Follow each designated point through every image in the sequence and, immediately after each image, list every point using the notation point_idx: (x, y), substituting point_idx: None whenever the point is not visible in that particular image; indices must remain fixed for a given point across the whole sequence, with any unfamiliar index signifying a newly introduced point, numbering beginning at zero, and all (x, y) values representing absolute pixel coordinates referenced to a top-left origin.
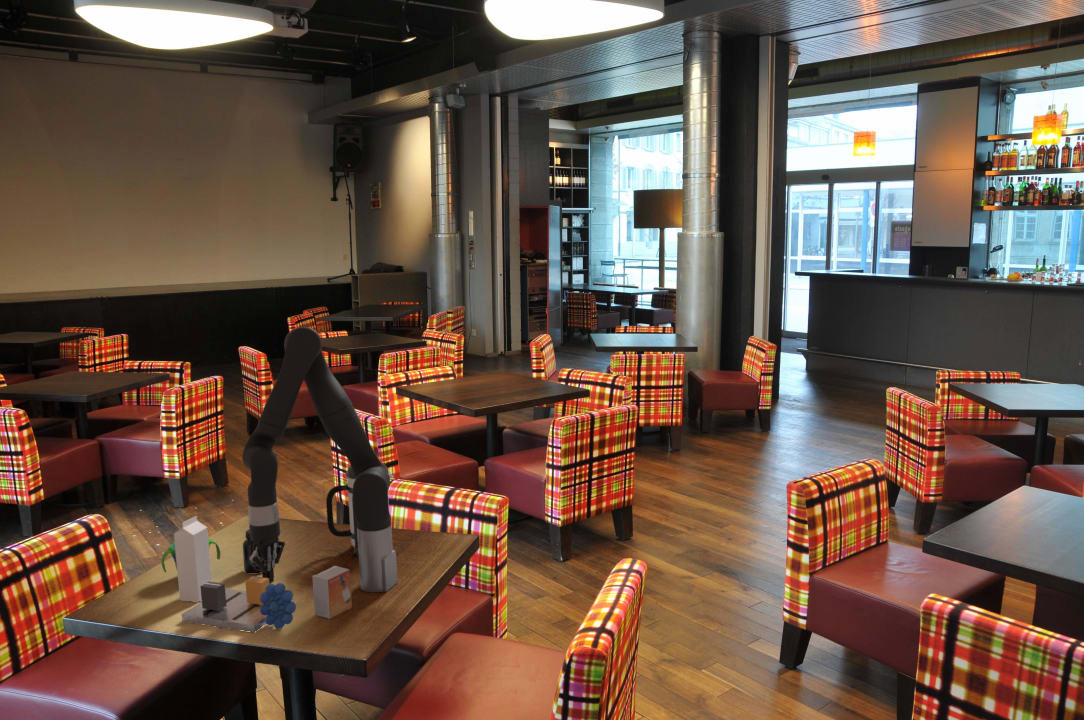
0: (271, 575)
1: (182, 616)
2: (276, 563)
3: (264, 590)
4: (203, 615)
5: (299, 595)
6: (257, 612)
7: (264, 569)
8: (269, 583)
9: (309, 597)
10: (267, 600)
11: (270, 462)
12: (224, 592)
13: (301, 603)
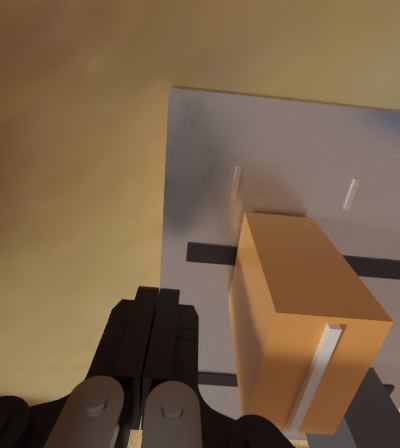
0: (153, 329)
1: None
2: (27, 407)
3: (323, 263)
4: (393, 391)
5: (46, 129)
6: (387, 206)
7: (267, 439)
8: (179, 294)
9: (43, 44)
10: None
11: None
12: (358, 435)
13: (136, 50)
